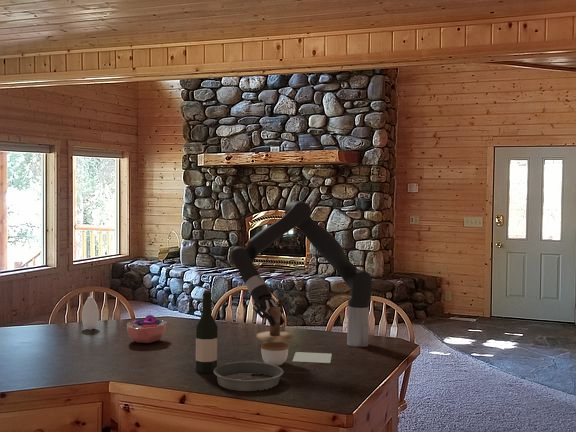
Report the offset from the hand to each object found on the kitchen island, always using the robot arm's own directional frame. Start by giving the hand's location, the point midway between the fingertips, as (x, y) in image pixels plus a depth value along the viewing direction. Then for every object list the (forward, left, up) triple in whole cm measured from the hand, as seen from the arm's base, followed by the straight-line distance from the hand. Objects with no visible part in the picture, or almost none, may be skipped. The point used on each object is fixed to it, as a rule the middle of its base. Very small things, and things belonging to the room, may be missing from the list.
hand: (278, 324), depth 257 cm
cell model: (+61, -28, -16) cm, 70 cm away
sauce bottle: (+95, -48, -16) cm, 108 cm away
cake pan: (+7, +24, -16) cm, 30 cm away
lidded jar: (+1, -1, -16) cm, 16 cm away
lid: (+1, -1, -6) cm, 6 cm away
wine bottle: (+25, +12, -16) cm, 32 cm away
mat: (-13, -13, -16) cm, 24 cm away
